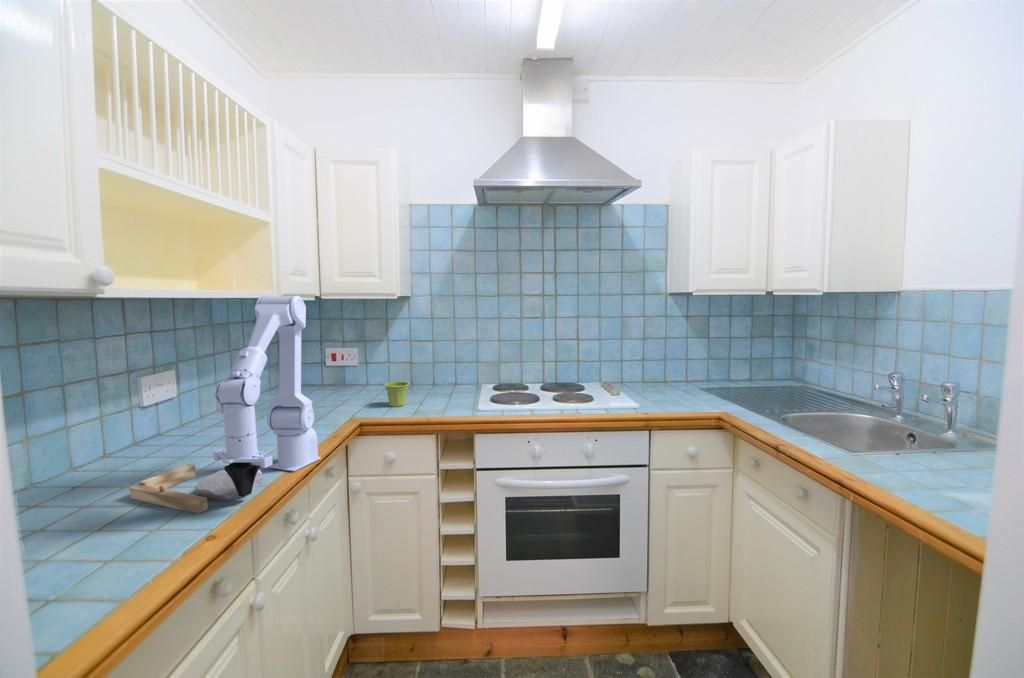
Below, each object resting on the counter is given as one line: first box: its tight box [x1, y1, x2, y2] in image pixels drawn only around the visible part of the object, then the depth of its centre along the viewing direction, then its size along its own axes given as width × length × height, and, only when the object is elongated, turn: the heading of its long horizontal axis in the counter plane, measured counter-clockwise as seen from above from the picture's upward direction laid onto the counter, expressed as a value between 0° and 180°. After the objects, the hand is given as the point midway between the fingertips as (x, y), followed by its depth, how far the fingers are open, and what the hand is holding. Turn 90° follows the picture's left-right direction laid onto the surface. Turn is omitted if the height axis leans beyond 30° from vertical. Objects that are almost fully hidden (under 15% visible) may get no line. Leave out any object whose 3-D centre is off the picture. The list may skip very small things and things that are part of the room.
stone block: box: [194, 469, 264, 501], centre depth 102 cm, size 12×5×10 cm
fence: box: [128, 463, 208, 514], centre depth 101 cm, size 13×21×4 cm, turn 70°
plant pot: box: [384, 381, 410, 408], centre depth 179 cm, size 9×9×9 cm
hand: (245, 494), depth 97 cm, fingers closed
